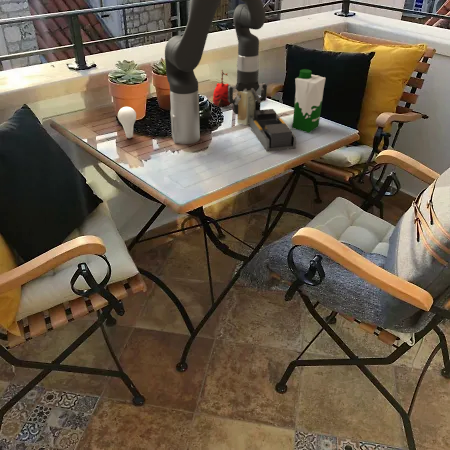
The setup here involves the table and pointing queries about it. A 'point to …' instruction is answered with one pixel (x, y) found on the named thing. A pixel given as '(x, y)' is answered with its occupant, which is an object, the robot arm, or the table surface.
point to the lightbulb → (127, 120)
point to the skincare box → (246, 107)
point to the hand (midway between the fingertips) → (246, 112)
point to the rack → (272, 131)
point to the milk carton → (308, 101)
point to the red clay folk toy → (221, 94)
